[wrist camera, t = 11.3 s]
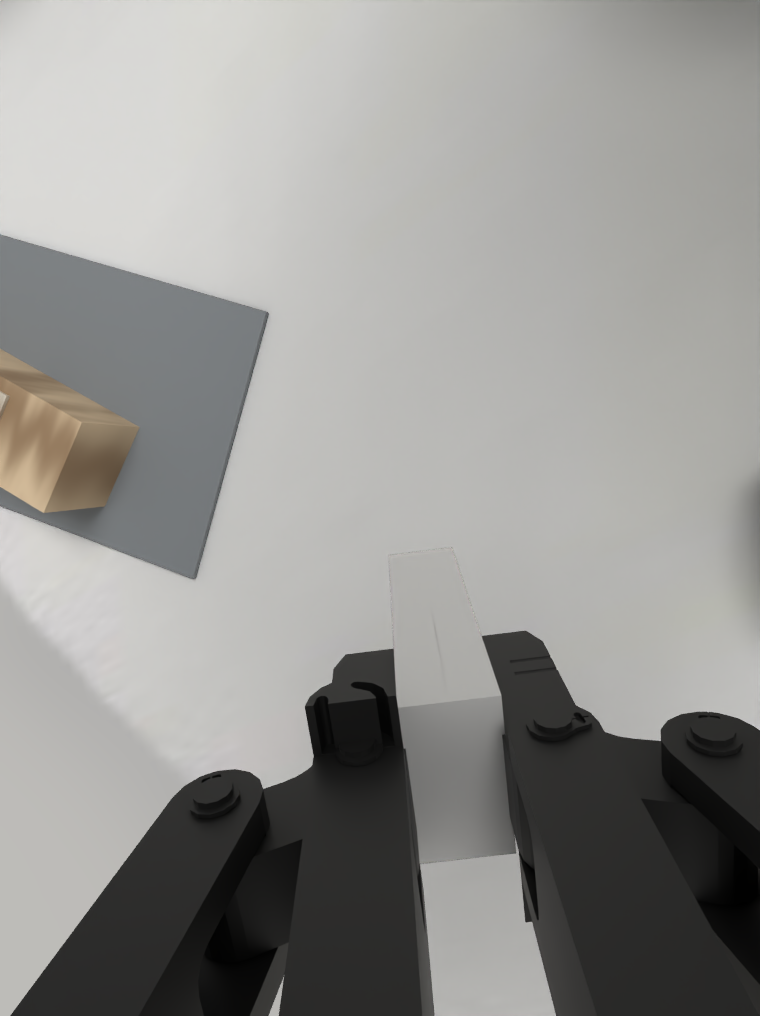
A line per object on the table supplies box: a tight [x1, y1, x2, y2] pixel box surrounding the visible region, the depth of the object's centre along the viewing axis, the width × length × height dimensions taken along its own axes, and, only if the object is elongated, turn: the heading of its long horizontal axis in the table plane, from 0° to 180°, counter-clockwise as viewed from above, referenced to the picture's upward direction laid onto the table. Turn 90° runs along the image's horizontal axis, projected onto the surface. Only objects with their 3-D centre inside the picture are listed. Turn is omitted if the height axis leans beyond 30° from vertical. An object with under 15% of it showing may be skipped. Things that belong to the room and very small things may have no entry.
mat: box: [0, 235, 269, 579], centre depth 47 cm, size 18×22×1 cm
